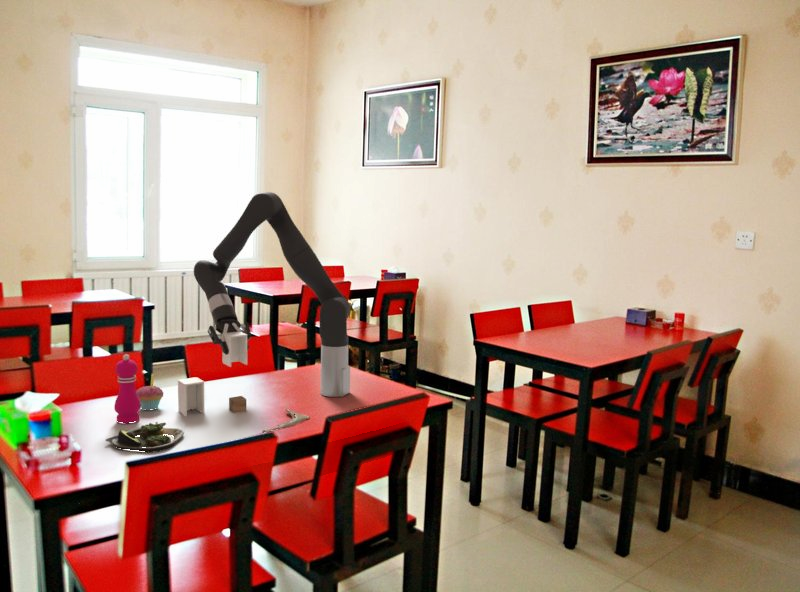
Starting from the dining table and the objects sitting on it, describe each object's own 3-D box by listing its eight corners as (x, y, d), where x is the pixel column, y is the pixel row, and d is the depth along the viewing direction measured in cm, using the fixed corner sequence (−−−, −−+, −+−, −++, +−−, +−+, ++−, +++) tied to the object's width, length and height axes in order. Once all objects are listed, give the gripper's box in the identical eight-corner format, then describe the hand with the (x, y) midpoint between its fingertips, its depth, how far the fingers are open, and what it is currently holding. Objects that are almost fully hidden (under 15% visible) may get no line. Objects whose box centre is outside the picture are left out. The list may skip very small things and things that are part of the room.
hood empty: (178, 411, 214) (177, 379, 212) (197, 408, 217) (196, 377, 216) (185, 416, 209) (184, 384, 207) (204, 413, 212) (204, 381, 211)
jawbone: (313, 417, 214) (313, 411, 214) (291, 441, 194) (292, 434, 194) (285, 413, 216) (286, 406, 215) (261, 435, 196) (261, 429, 195)
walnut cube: (229, 410, 216) (229, 397, 216) (241, 408, 219) (241, 395, 218) (234, 413, 213) (234, 401, 212) (246, 411, 215) (246, 399, 215)
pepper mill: (146, 418, 206) (144, 353, 203) (129, 426, 199) (127, 358, 196) (126, 415, 208) (124, 350, 205) (109, 422, 201) (107, 355, 198)
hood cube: (222, 362, 226) (222, 332, 225) (239, 360, 230) (239, 331, 228) (229, 366, 222) (229, 336, 220) (247, 364, 225) (247, 334, 224)
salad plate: (138, 426, 200) (138, 411, 200) (196, 431, 197) (196, 415, 196) (98, 450, 181) (98, 433, 181) (161, 456, 178) (161, 439, 178)
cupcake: (169, 407, 217) (168, 370, 216) (149, 414, 210) (148, 376, 208) (149, 403, 221) (148, 366, 219) (128, 410, 213) (127, 372, 212)
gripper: (204, 305, 225) (218, 348, 217) (245, 302, 233) (261, 343, 225) (198, 318, 230) (212, 361, 222) (239, 315, 238) (254, 355, 230)
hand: (237, 351), depth 224 cm, fingers closed on hood cube, 6 cm apart
